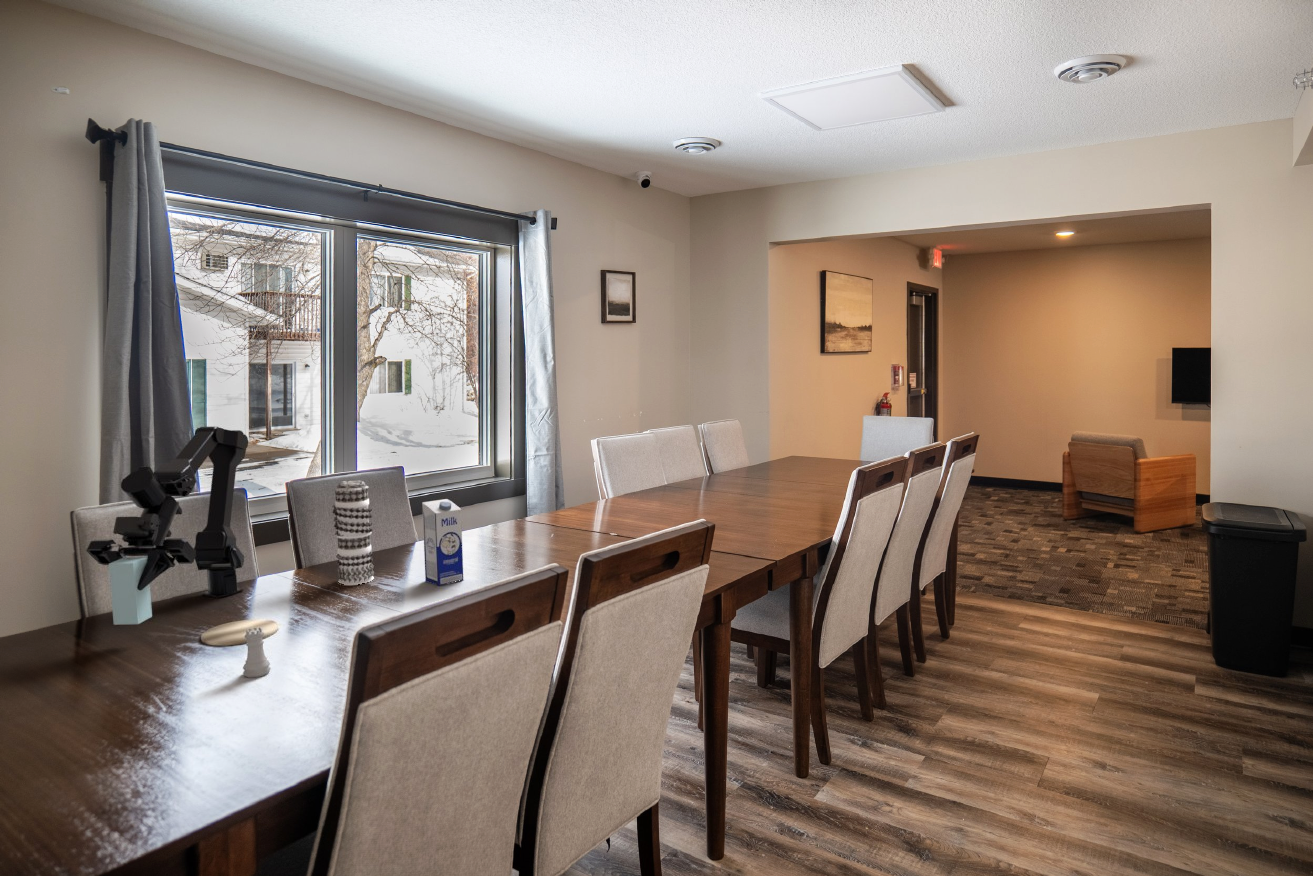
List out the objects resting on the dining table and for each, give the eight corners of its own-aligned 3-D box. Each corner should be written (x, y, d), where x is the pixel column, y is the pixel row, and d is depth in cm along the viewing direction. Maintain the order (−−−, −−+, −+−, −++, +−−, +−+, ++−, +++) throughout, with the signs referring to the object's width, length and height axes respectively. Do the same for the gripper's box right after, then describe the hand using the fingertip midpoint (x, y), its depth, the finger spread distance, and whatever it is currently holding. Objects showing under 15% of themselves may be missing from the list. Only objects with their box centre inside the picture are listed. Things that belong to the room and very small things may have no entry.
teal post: (128, 616, 161) (123, 557, 160) (152, 616, 161) (147, 557, 160) (113, 624, 156) (108, 563, 155) (138, 624, 157) (133, 563, 155)
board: (186, 638, 162) (185, 635, 162) (250, 618, 174) (250, 615, 174) (230, 650, 155) (230, 647, 155) (293, 628, 168) (293, 625, 168)
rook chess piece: (249, 669, 146) (246, 626, 145) (274, 668, 146) (272, 625, 146) (238, 679, 142) (235, 634, 141) (265, 678, 142) (262, 633, 141)
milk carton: (450, 575, 207) (447, 497, 205) (464, 580, 202) (461, 501, 200) (424, 581, 202) (421, 501, 200) (438, 586, 197) (435, 505, 195)
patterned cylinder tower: (327, 583, 200) (322, 483, 198) (354, 574, 209) (350, 478, 206) (357, 587, 197) (352, 485, 194) (383, 577, 205) (378, 479, 203)
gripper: (88, 499, 160) (53, 569, 150) (184, 498, 160) (155, 567, 151) (116, 530, 169) (85, 598, 159) (207, 528, 169) (182, 596, 159)
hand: (126, 589), depth 157 cm, fingers closed on teal post, 5 cm apart
